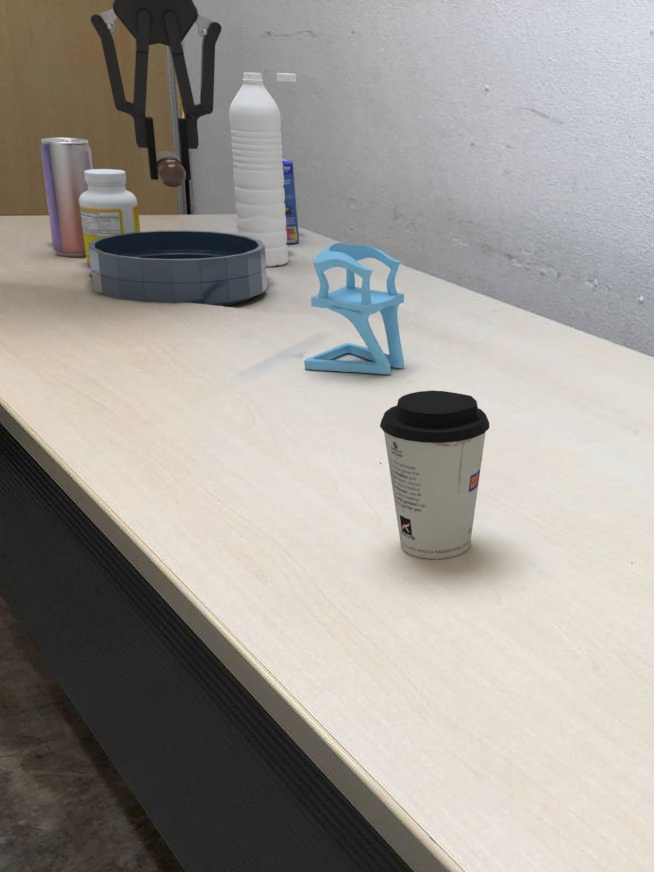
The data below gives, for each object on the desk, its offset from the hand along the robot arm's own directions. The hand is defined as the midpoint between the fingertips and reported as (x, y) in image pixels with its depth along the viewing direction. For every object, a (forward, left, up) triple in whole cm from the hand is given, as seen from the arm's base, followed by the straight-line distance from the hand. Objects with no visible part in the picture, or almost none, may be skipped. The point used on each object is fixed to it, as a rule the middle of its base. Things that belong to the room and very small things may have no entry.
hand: (170, 177), depth 128 cm
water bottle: (-2, +25, -14) cm, 29 cm away
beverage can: (-27, +18, -14) cm, 35 cm away
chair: (+30, -17, -14) cm, 38 cm away
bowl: (-2, +3, -14) cm, 14 cm away
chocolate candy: (0, 0, 0) cm, 0 cm away
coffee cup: (+52, -54, -14) cm, 77 cm away
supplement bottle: (-15, +9, -14) cm, 22 cm away
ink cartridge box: (-11, +41, -14) cm, 44 cm away
